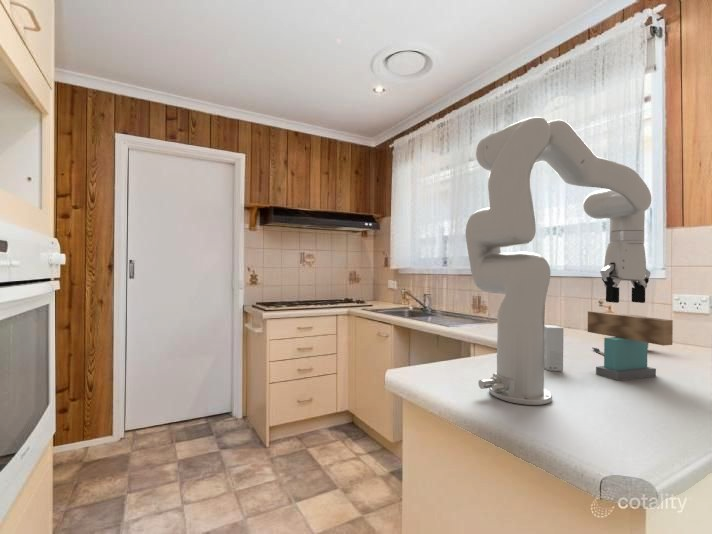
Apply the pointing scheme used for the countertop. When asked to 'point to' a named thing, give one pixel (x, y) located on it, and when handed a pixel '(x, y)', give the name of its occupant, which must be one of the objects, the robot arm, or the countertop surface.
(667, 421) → the countertop surface
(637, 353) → the teal box with base
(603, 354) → the tomahawk
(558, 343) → the skincare box
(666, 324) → the walnut beam
